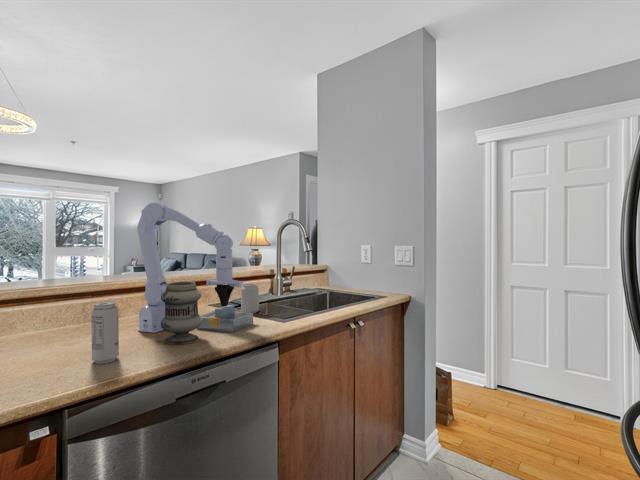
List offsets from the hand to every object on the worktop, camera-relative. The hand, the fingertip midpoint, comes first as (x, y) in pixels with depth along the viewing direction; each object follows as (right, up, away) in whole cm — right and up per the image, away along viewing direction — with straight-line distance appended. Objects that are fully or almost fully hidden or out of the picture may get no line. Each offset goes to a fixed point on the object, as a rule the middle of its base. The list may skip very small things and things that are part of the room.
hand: (224, 305), depth 125 cm
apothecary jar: (-9, -8, -17) cm, 21 cm away
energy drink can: (-22, -8, -34) cm, 41 cm away
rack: (0, -7, 0) cm, 7 cm away
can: (+5, -7, +23) cm, 25 cm away
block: (0, -7, 0) cm, 7 cm away
